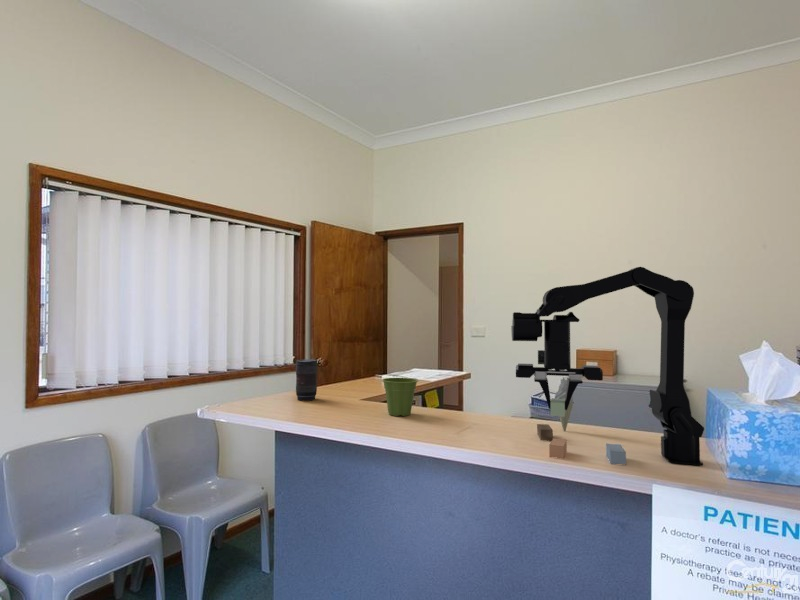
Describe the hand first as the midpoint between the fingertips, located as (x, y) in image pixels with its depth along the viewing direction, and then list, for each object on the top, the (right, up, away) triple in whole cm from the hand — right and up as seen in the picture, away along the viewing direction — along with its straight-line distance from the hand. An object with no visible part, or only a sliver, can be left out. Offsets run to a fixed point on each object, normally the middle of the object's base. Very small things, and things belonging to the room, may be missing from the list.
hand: (557, 409), depth 106 cm
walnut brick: (+2, -11, +15) cm, 18 cm away
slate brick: (+11, -10, -5) cm, 16 cm away
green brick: (0, -1, 0) cm, 1 cm away
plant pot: (-37, -12, +43) cm, 58 cm away
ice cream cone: (+9, -12, +22) cm, 26 cm away
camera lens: (-73, -13, +70) cm, 102 cm away
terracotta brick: (0, -11, -1) cm, 11 cm away
